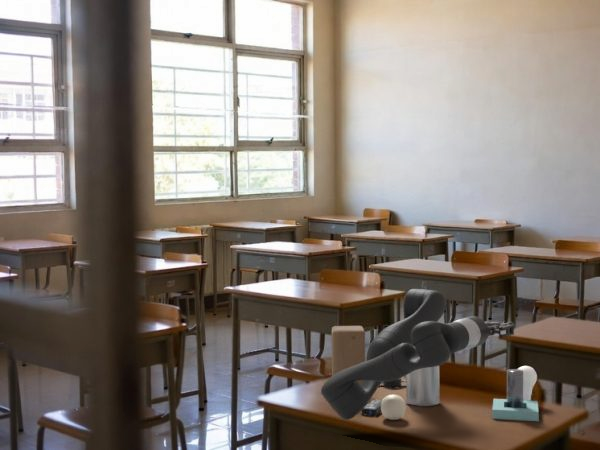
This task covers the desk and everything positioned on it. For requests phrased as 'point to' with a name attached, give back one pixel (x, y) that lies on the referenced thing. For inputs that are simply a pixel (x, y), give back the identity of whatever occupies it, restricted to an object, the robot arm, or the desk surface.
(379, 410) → the multiport hub
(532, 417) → the frame
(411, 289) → the robot arm
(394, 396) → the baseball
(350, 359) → the wooden block
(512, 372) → the brushed steel cylinder
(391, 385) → the black ring with tabs
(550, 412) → the desk surface
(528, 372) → the lightbulb
